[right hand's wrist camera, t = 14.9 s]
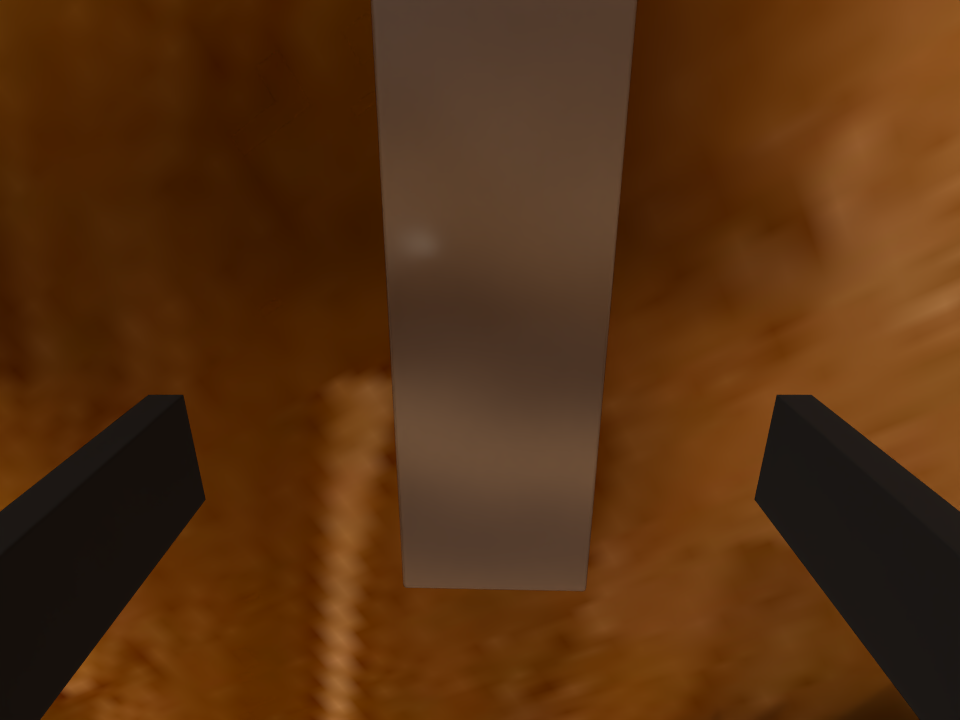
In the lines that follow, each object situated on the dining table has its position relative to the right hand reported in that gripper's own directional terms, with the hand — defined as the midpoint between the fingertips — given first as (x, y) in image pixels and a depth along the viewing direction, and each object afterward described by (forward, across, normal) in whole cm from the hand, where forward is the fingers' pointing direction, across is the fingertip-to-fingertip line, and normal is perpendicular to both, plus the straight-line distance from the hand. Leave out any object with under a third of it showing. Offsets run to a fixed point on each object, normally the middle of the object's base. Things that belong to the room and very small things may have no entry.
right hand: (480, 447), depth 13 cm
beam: (+10, -1, -21) cm, 23 cm away
